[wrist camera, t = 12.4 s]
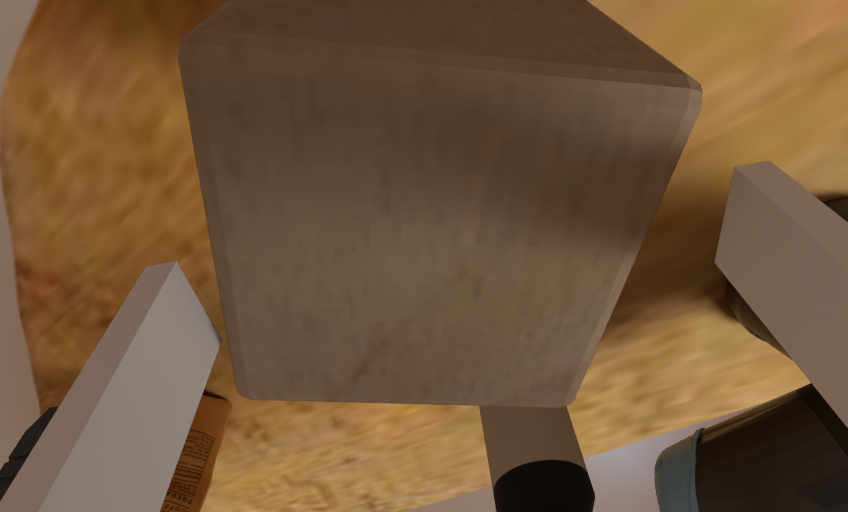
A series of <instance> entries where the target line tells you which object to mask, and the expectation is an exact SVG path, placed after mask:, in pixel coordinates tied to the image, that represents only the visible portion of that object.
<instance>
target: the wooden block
mask: <svg viewBox="0 0 848 512" xmlns="http://www.w3.org/2000/svg"><path fill="white" fill-rule="evenodd" d="M178 61H179V66H180V72H181V78H182V83H183V89H184V95H185V100H186V106H187V112H188V117H189V123H190V129H191V134H192V140H193V146H194V151H195V157H196V163H197V168H198V174H199V180H200V185H201V191H202V197H203V202H204V208H205V214H206V219H207V225H208V230H209V236H210V242H211V247H212V253H213V259H214V264H215V270H216V276H217V281H218V287H219V293H220V298H221V304H222V310H223V315H224V321H225V327H226V332H227V338H228V344H229V349H230V355H231V361H232V366H233V372H234V378H235V383H236V387H237V391H238V393H239V394H240V395H241V396H243V397H246V398H248V399H251V400H284V401H322V402H360V403H398V404H436V405H474V406H512V407H550V408H560V407H563V406H567V405H569V404H570V403H572V402H573V401H574V399H575V397H576V395H577V392H578V390H579V388H580V385H581V383H582V381H583V379H584V376H585V374H586V372H587V369H588V367H589V365H590V362H591V360H592V358H593V356H594V353H595V351H596V349H597V346H598V344H599V342H600V339H601V337H602V335H603V333H604V330H605V328H606V326H607V323H608V321H609V319H610V316H611V314H612V312H613V310H614V307H615V305H616V303H617V300H618V298H619V296H620V293H621V291H622V289H623V287H624V284H625V282H626V280H627V277H628V275H629V273H630V270H631V268H632V266H633V264H634V261H635V259H636V257H637V254H638V252H639V250H640V247H641V245H642V243H643V241H644V238H645V236H646V234H647V231H648V229H649V227H650V224H651V222H652V220H653V218H654V215H655V213H656V211H657V208H658V206H659V204H660V201H661V199H662V197H663V195H664V192H665V190H666V188H667V185H668V183H669V181H670V178H671V176H672V174H673V171H674V169H675V167H676V165H677V162H678V160H679V158H680V155H681V153H682V151H683V148H684V146H685V144H686V142H687V139H688V137H689V135H690V132H691V130H692V128H693V125H694V123H695V121H696V119H697V116H698V114H699V112H700V109H701V103H702V93H703V92H702V88H701V85H700V83H698V82H697V81H696V80H694V79H693V78H692V77H690V76H689V75H688V74H686V73H685V72H683V71H682V70H681V69H679V68H678V67H677V66H675V65H674V64H673V63H671V62H670V61H668V60H667V59H666V58H664V57H663V56H662V55H660V54H659V53H657V52H656V51H655V50H653V49H652V48H651V47H649V46H648V45H647V44H645V43H644V42H642V41H641V40H640V39H638V38H637V37H636V36H634V35H633V34H632V33H630V32H629V31H627V30H626V29H625V28H623V27H622V26H621V25H619V24H618V23H617V22H615V21H614V20H612V19H611V18H610V17H608V16H607V15H606V14H604V13H603V12H601V11H600V10H599V9H597V8H596V7H595V6H593V5H592V4H591V3H589V2H588V1H586V0H226V1H225V2H224V3H222V4H221V5H220V6H219V7H218V8H216V9H215V10H214V11H213V12H212V13H210V14H209V15H208V16H207V17H206V18H204V19H203V20H202V21H201V22H200V23H198V24H197V25H196V26H195V27H194V28H192V29H191V30H190V31H189V32H188V33H186V34H185V35H184V36H183V37H182V41H181V45H180V49H179V53H178Z"/></svg>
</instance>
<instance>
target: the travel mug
mask: <svg viewBox="0 0 848 512" xmlns="http://www.w3.org/2000/svg"><path fill="white" fill-rule="evenodd" d="M479 408H480V414H481V420H482V426H483V432H484V438H485V444H486V451H487V457H488V463H489V469H490V475H491V481H492V487H493V493H494V499H495V505H496V511H497V512H592V511H593V506H594V501H595V493H594V490H593V487H592V484H591V481H590V478H589V475H588V472H587V469H586V466H585V463H584V459H583V456H582V453H581V450H580V447H579V444H578V441H577V438H576V435H575V431H574V428H573V425H572V422H571V419H570V416H569V413H568V410H567V407H566V406H563V407H560V408H550V407H512V406H479Z"/></svg>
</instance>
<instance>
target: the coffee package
mask: <svg viewBox="0 0 848 512" xmlns="http://www.w3.org/2000/svg"><path fill="white" fill-rule="evenodd" d="M231 409H232V405H231V403H230V402H229V401H227V400H225V399H220V398H215V397H211V396H206V395H202V397H201V399H200V402H199V405H198V408H197V410H196V413H195V416H194V419H193V421H192V424H191V427H190V430H189V432H188V435H187V438H186V441H185V443H184V446H183V449H182V452H181V454H180V457H179V460H178V463H177V465H176V468H175V471H174V474H173V476H172V479H171V482H170V485H169V487H168V490H167V493H166V496H165V498H164V501H163V504H162V507H161V509H160V512H200V510H201V508H202V505H203V503H204V500H205V498H206V495H207V493H208V490H209V487H210V484H211V480H212V474H213V469H214V465H215V460H216V457H217V454H218V451H219V449H220V446H221V443H222V440H223V437H224V434H225V430H226V427H227V424H228V421H229V417H230V413H231Z"/></svg>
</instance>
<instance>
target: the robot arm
mask: <svg viewBox="0 0 848 512" xmlns="http://www.w3.org/2000/svg"><path fill="white" fill-rule="evenodd" d="M714 263H715V264H716V265H717V266H718V268H719V269H720V270H721V271H722V273H723V274H724V275H725V276H726V277H727V279H728V283H727V289H726V297H727V302H728V305H729V307H730V309H731V311H732V312H733V313H734V315H735V316H736V317H737V319H738V320H739V321H740V323H741V324H742V325H743V327H744V328H745V329H746V330H747V331H748V332H750V333H751V334H752V335H754V336H755V337H757V338H759V339H761V340H762V341H765V342H767V343H769V344H770V345H771V346H773V347H774V348H776V349H777V350H778V351H780V352H781V353H783V354H784V355H786V356H787V357H788V358H790V359H791V360H793V361H794V362H795V363H796V364H797V366H798V367H799V368H800V369H801V371H802V372H803V373H804V374H805V376H806V377H807V378H808V379H809V381H810V382H811V383H810V384H808V385H806V386H804V387H801V388H799V389H797V390H794V391H792V392H789V393H787V394H785V395H783V396H780V397H778V398H776V399H773V400H771V401H769V402H766V403H764V404H762V405H760V406H757V407H755V408H753V409H751V410H748V411H746V412H744V413H741V414H739V415H737V416H734V417H732V418H730V419H728V420H725V421H723V422H721V423H718V424H716V425H714V426H711V427H709V428H707V429H705V428H700V429H698V430H696V431H695V433H694V434H693V435H691V436H689V437H687V438H686V439H684V440H681V441H680V442H678V443H676V444H674V445H672V446H670V447H668V448H666V449H665V450H664V451H662V453H661V454H660V455H659V457H658V459H657V461H656V465H655V478H654V479H655V489H656V495H657V500H658V504H659V508H660V512H848V198H845V199H837V200H832V201H828V202H824V203H822V202H821V201H820V200H819V199H817V198H816V197H815V196H814V195H812V194H811V193H810V192H808V191H807V190H806V189H805V188H803V187H802V186H801V185H800V184H798V183H797V182H796V181H794V180H793V179H792V178H791V177H789V176H788V175H787V174H786V173H784V172H783V171H782V170H781V169H779V168H778V167H777V166H775V165H774V164H773V163H772V162H770V161H766V162H760V163H754V164H749V165H743V166H737V167H734V172H733V176H732V181H731V186H730V191H729V195H728V200H727V205H726V210H725V214H724V219H723V224H722V228H721V233H720V238H719V243H718V247H717V252H716V257H715V261H714ZM221 341H222V339H221V337H220V335H219V334H218V332H217V330H216V329H215V327H214V325H213V323H212V322H211V320H210V318H209V316H208V315H207V313H206V311H205V310H204V308H203V306H202V304H201V303H200V301H199V299H198V298H197V296H196V294H195V292H194V291H193V289H192V287H191V285H190V284H189V282H188V280H187V279H186V277H185V275H184V273H183V272H182V270H181V268H180V267H179V265H178V263H177V261H174V262H168V263H162V264H156V265H150V266H146V267H145V269H144V270H143V272H142V274H141V275H140V277H139V278H138V280H137V282H136V283H135V285H134V286H133V288H132V290H131V291H130V293H129V295H128V296H127V298H126V299H125V301H124V303H123V304H122V306H121V307H120V309H119V311H118V312H117V314H116V316H115V317H114V319H113V320H112V322H111V324H110V325H109V327H108V328H107V330H106V332H105V333H104V335H103V336H102V338H101V340H100V341H99V343H98V345H97V346H96V348H95V349H94V351H93V353H92V354H91V356H90V357H89V359H88V361H87V362H86V364H85V366H84V367H83V369H82V370H81V372H80V374H79V375H78V377H77V378H76V380H75V382H74V383H73V385H72V387H71V388H70V390H69V391H68V393H67V395H66V396H65V398H64V399H63V401H62V403H61V404H60V406H58V407H52V408H49V409H48V410H47V411H46V412H45V413H44V414H43V415H42V416H41V417H40V418H39V419H38V420H37V421H36V422H35V423H34V424H33V425H32V426H31V427H30V428H29V429H28V430H27V431H26V432H25V433H24V435H23V436H22V438H21V439H20V441H19V442H18V444H17V445H16V447H15V448H14V450H13V452H12V453H11V455H10V456H9V462H7V463H5V464H4V465H3V467H2V468H1V470H0V512H160V509H161V507H162V504H163V501H164V498H165V496H166V493H167V490H168V487H169V485H170V482H171V479H172V476H173V474H174V471H175V468H176V465H177V463H178V460H179V457H180V454H181V452H182V449H183V446H184V443H185V441H186V438H187V435H188V432H189V430H190V427H191V424H192V421H193V419H194V416H195V413H196V410H197V408H198V405H199V402H200V399H201V397H202V394H203V391H204V388H205V386H206V383H207V380H208V377H209V375H210V372H211V369H212V366H213V364H214V361H215V358H216V355H217V352H218V350H219V347H220V344H221Z"/></svg>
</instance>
